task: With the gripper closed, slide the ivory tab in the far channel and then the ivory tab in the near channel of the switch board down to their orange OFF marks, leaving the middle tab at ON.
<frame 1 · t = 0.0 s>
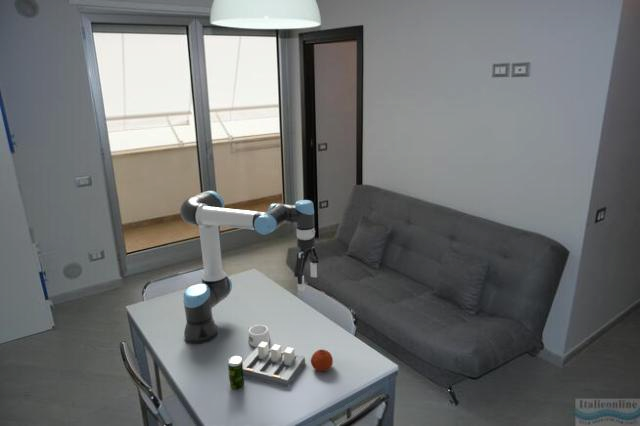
hand: (307, 283, 195), 28 cm above the table, fingers open, 13 cm apart
tab 1: (263, 350, 189), point 5 cm above the table, slide at 0.0 cm
beer can: (237, 387, 174), on the table
switch board: (272, 368, 184), on the table
fruit: (321, 368, 184), on the table
tab 3: (289, 356, 184), point 5 cm above the table, slide at 0.0 cm
mug: (257, 340, 205), on the table
tab 2: (276, 353, 187), point 5 cm above the table, slide at 0.0 cm
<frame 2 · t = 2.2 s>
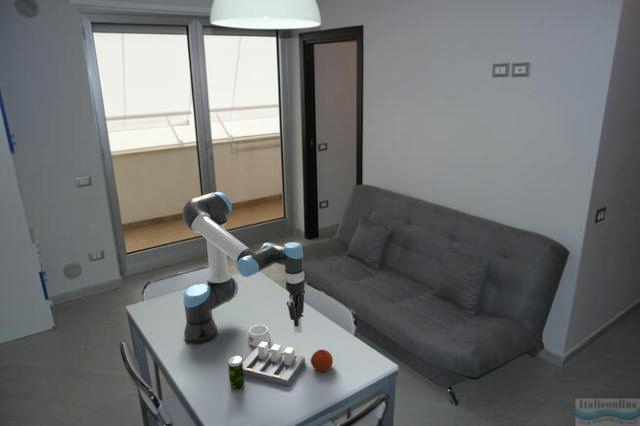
hand: (298, 331, 190), 11 cm above the table, fingers closed
nothing on the table moved.
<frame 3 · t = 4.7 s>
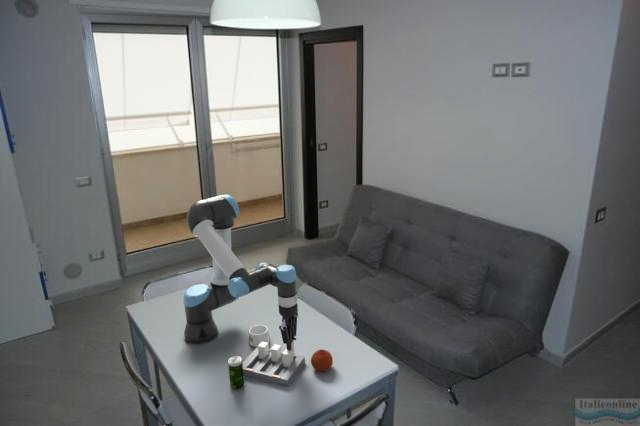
hand: (290, 354, 186), 4 cm above the table, fingers closed
tab 3: (288, 358, 183), point 5 cm above the table, slide at 1.3 cm, touching gripper
everything else where it was.
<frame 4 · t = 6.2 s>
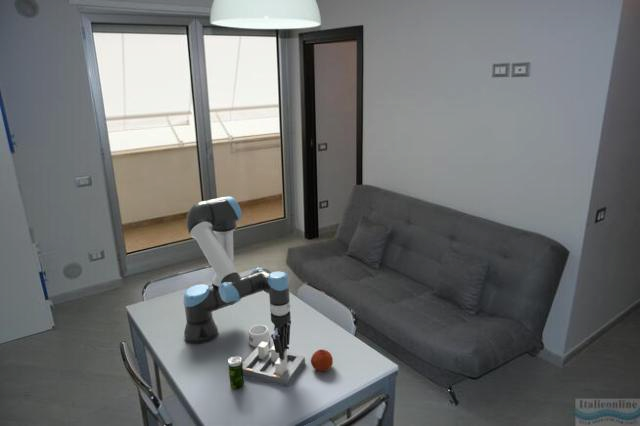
hand: (283, 364, 180), 4 cm above the table, fingers closed
tab 3: (280, 367, 178), point 5 cm above the table, slide at 7.8 cm, touching gripper
everything else where it was.
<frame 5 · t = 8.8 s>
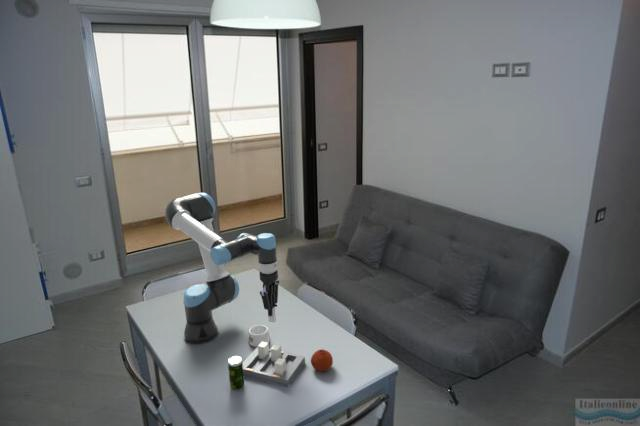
hand: (272, 321, 193), 14 cm above the table, fingers closed
tab 3: (280, 367, 177), point 5 cm above the table, slide at 8.0 cm
everything else where it was.
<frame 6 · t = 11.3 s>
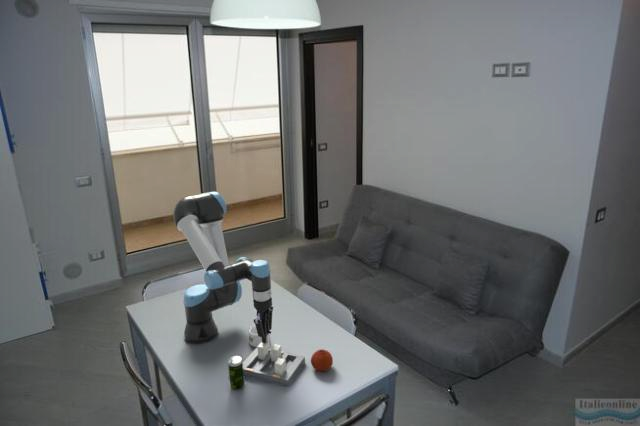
hand: (266, 347, 191), 4 cm above the table, fingers closed
tab 1: (263, 351, 189), point 5 cm above the table, slide at 0.4 cm, touching gripper
everything else where it was.
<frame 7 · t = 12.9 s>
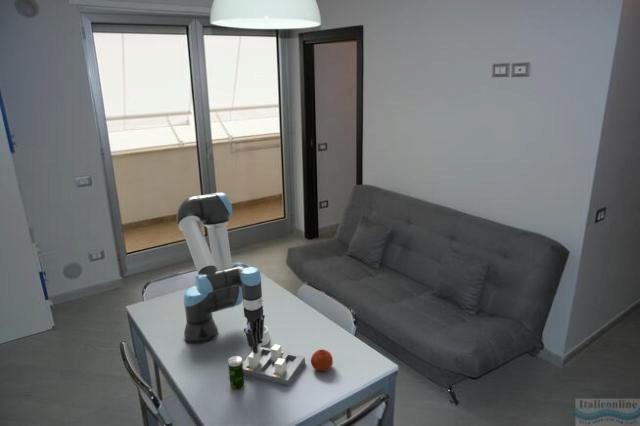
hand: (257, 357, 184), 4 cm above the table, fingers closed
tab 1: (254, 361, 182), point 4 cm above the table, slide at 7.8 cm, touching gripper
everything else where it was.
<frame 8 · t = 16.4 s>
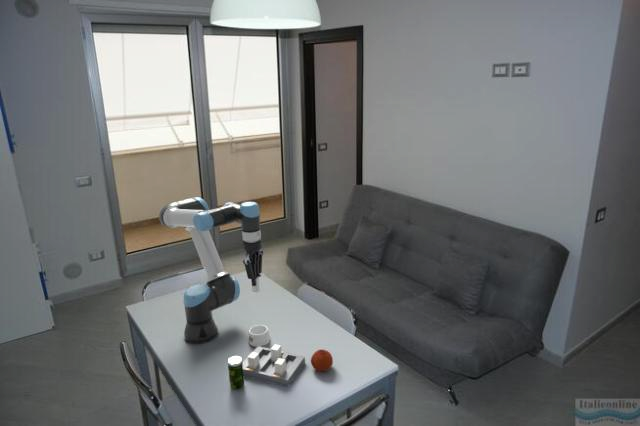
hand: (256, 291, 193), 26 cm above the table, fingers closed
tab 1: (253, 361, 182), point 5 cm above the table, slide at 8.0 cm
everything else where it was.
at the end: tab 3 slide at 8.0 cm; tab 1 slide at 8.0 cm; tab 2 slide at 0.0 cm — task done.
